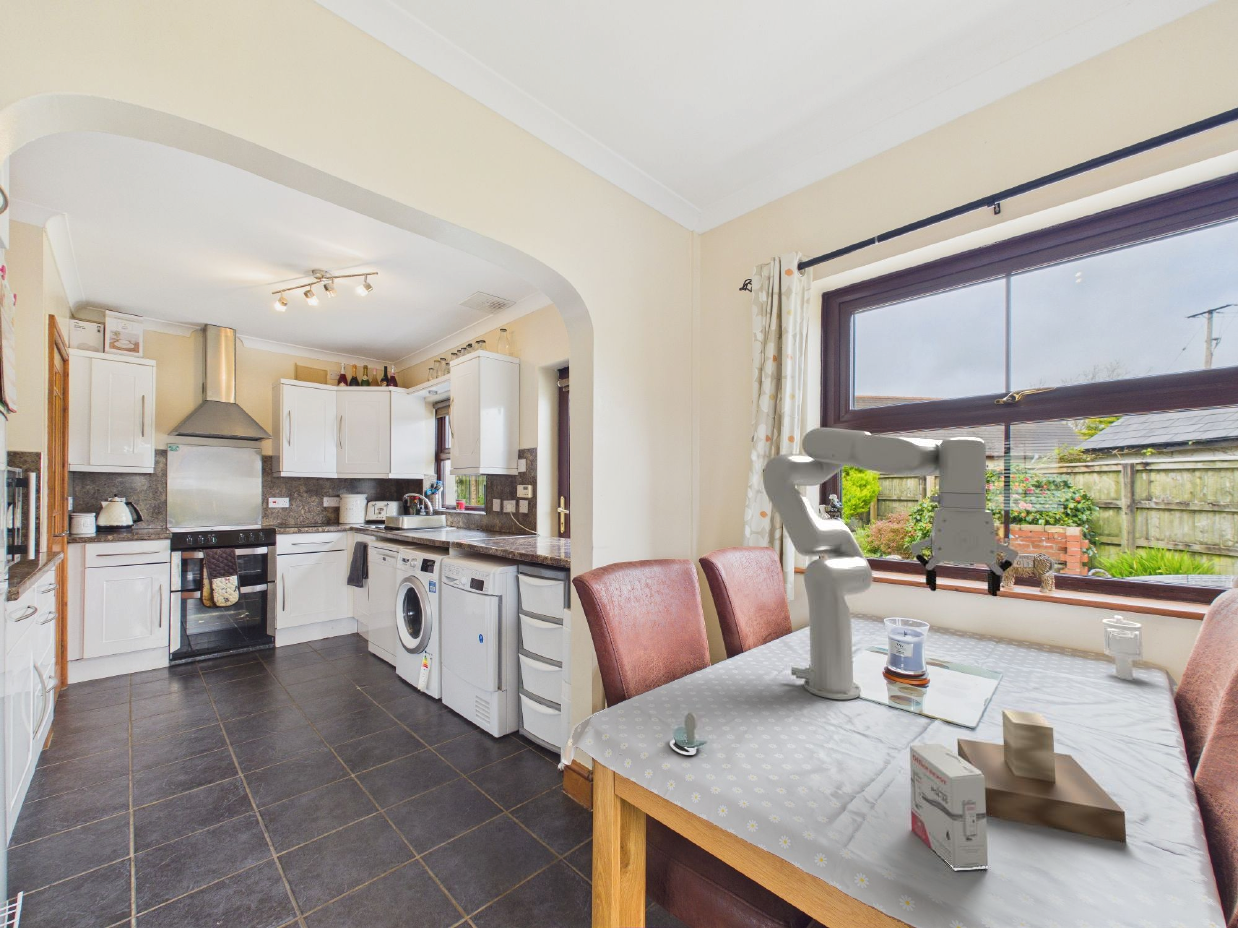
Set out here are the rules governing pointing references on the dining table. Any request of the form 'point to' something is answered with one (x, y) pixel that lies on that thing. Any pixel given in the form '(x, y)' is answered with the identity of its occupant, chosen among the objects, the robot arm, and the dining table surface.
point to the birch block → (1028, 745)
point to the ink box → (948, 805)
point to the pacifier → (688, 733)
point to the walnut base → (1045, 794)
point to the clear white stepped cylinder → (1123, 645)
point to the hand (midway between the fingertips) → (961, 592)
